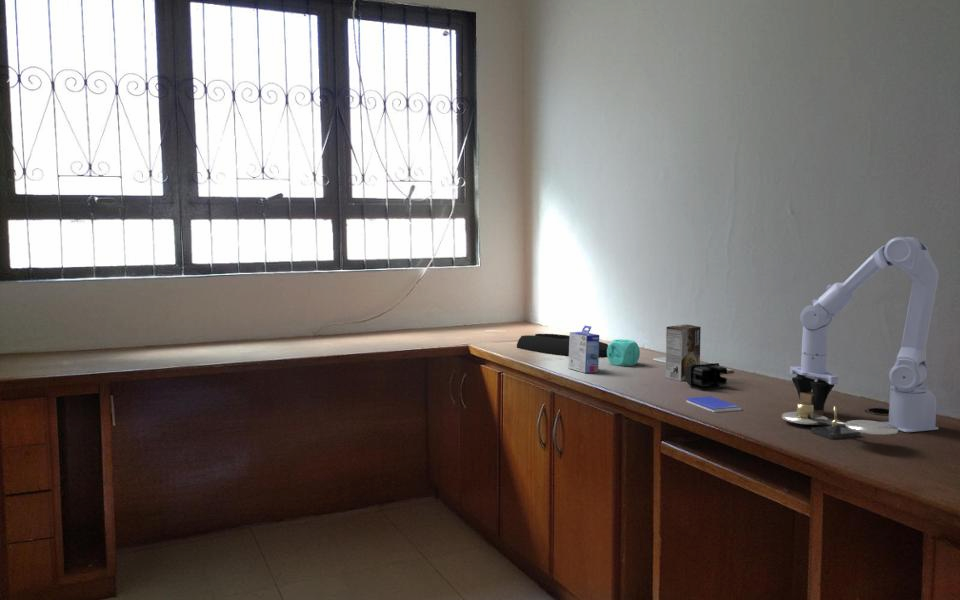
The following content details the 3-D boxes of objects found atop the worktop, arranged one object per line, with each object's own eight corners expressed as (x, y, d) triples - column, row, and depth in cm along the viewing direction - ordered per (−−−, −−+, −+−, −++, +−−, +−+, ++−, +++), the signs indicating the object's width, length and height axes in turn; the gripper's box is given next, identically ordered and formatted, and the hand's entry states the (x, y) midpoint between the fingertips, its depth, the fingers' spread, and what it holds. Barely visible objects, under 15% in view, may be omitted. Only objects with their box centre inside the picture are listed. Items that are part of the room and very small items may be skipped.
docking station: (586, 361, 266) (587, 347, 266) (505, 348, 296) (505, 335, 295) (630, 354, 283) (630, 340, 282) (549, 342, 312) (549, 329, 312)
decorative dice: (624, 367, 253) (625, 343, 252) (606, 364, 259) (606, 340, 259) (639, 364, 258) (640, 341, 257) (621, 361, 264) (622, 338, 264)
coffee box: (683, 374, 240) (684, 324, 239) (700, 378, 235) (701, 326, 234) (664, 378, 235) (665, 326, 233) (681, 381, 230) (682, 328, 228)
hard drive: (741, 406, 193) (712, 396, 205) (713, 408, 190) (686, 397, 202) (741, 412, 193) (712, 401, 205) (713, 414, 191) (685, 403, 202)
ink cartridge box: (599, 372, 244) (600, 327, 242) (585, 373, 241) (586, 328, 240) (581, 367, 252) (582, 324, 251) (567, 368, 250) (568, 325, 248)
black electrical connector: (711, 383, 226) (712, 361, 226) (727, 388, 220) (728, 365, 219) (684, 386, 223) (684, 363, 222) (699, 391, 216) (700, 367, 216)
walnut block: (812, 411, 193) (813, 391, 192) (823, 414, 189) (824, 394, 188) (799, 412, 191) (800, 392, 191) (810, 415, 188) (811, 395, 187)
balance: (806, 417, 186) (808, 391, 185) (908, 450, 158) (910, 420, 157) (772, 419, 183) (773, 393, 182) (869, 454, 155) (871, 424, 154)
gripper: (780, 349, 194) (778, 402, 196) (822, 359, 181) (819, 415, 182) (803, 348, 197) (801, 400, 198) (846, 357, 183) (843, 413, 184)
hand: (811, 407), depth 190 cm, fingers open, 4 cm apart
